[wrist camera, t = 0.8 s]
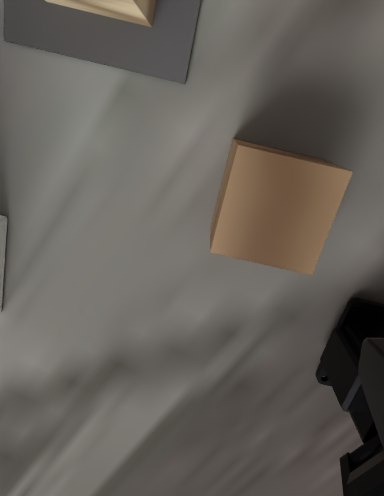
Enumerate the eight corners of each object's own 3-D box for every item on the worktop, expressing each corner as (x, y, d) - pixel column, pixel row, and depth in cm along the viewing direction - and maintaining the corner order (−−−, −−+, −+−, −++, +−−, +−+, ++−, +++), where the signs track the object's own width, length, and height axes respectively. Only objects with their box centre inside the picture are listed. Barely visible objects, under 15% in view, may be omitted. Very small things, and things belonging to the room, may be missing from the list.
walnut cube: (324, 159, 18) (352, 171, 14) (293, 245, 20) (312, 275, 16) (232, 138, 18) (237, 144, 14) (210, 226, 20) (209, 252, 16)
